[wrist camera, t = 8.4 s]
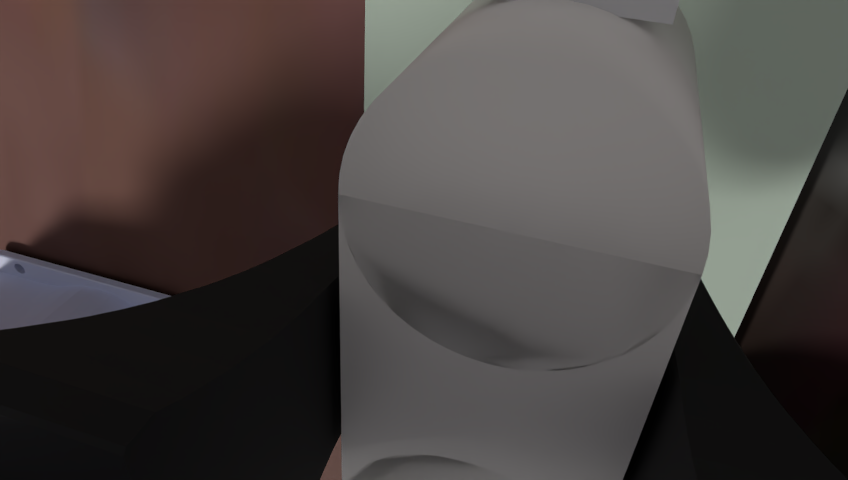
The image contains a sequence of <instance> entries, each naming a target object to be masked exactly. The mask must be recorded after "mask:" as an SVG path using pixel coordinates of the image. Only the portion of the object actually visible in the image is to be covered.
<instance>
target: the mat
mask: <svg viewBox="0 0 848 480" xmlns="http://www.w3.org/2000/svg"><path fill="white" fill-rule="evenodd" d="M473 1H474V0H365V75H364V113H365V111H366V110H367V109H368V107H369V106H370V105H371V104H372V102H373V101H374V100H375V99H376V98H377V97H378V96H379V95H380V94H381V93H382V92H383V91H384V90H385V89H386V88H387V87H388V86H389V85H390V84H391V83H392V82H393V81H394V80H395V79H396V78H397V77H398V76H399V75H400V74H401V73H402V72H403V71H404V70H405V69H406V68H407V67H408V66H409V65H410V64H411V63H412V62H413V61H414V60H415V59H416V58H417V57H418V56H419V55H420V54H421V53H422V52H423V51H424V50H425V49H426V48H427V47H428V46H429V45H430V44H431V43H432V42H433V41H434V40H435V39H436V38H437V37H438V36H439V35H440V34H441V33H442V32H443V31H444V30H445V29H446V28H447V27H448V26H449V25H450V24H451V23H452V22H453V21H454V20H455V19H456V18H457V17H458V16H459V15H460V14H461V13H462V12H463V11H464V10H465V9H466V8H467V7H468V6H469V5H470V4H471V3H472V2H473ZM678 6H679V8H680V9H681V11H682V13H683V15H684V17H685V19H686V21H687V24H688V27H689V30H690V32H691V35H692V40H693V45H694V50H695V60H696V70H697V80H698V91H699V101H700V111H701V121H702V131H703V141H704V151H705V162H706V172H707V182H708V192H709V202H710V217H711V237H710V245H709V253H708V257H707V260H706V264H705V267H704V271H703V274H702V277H701V280H702V281H703V283H704V285H705V287H706V289H707V291H708V293H709V295H710V297H711V298H712V300H713V302H714V304H715V306H716V307H717V309H718V311H719V313H720V314H721V316H722V318H723V320H724V321H725V323H726V325H727V326H728V328H729V330H730V331H731V333H732V335H733V336H734V337H735V335H736V333H737V330H738V328H739V326H740V324H741V322H742V320H743V317H744V315H745V313H746V311H747V309H748V306H749V304H750V302H751V300H752V298H753V295H754V293H755V291H756V289H757V287H758V284H759V282H760V280H761V278H762V276H763V273H764V271H765V269H766V267H767V265H768V262H769V260H770V258H771V256H772V254H773V251H774V249H775V247H776V245H777V243H778V240H779V238H780V236H781V234H782V232H783V229H784V227H785V225H786V223H787V221H788V218H789V216H790V214H791V212H792V210H793V207H794V205H795V203H796V201H797V199H798V196H799V194H800V192H801V190H802V188H803V185H804V183H805V181H806V179H807V177H808V174H809V172H810V170H811V168H812V166H813V163H814V161H815V159H816V157H817V155H818V153H819V150H820V148H821V146H822V144H823V142H824V139H825V137H826V135H827V133H828V131H829V128H830V126H831V124H832V122H833V120H834V117H835V115H836V113H837V111H838V109H839V106H840V104H841V102H842V100H843V98H844V95H845V93H846V91H847V89H848V0H679V4H678Z"/></svg>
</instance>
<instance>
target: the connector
mask: <svg viewBox="0 0 848 480" xmlns="http://www.w3.org/2000/svg"><path fill="white" fill-rule="evenodd" d="M678 4H679V0H474V1H473V2H472V3H471V4H470V5H469V6H468V7H467V8H466V9H465V10H464V11H463V12H462V13H461V14H460V15H459V16H458V17H457V18H456V19H455V20H454V21H453V22H452V23H451V24H450V25H449V26H448V27H447V28H446V29H445V30H444V31H443V32H442V33H441V34H440V35H439V36H438V37H437V38H436V39H435V40H434V41H433V42H432V43H431V44H430V45H429V46H428V47H427V48H426V49H425V50H424V51H423V52H422V53H421V54H420V55H419V56H418V57H417V58H416V59H415V60H414V61H413V62H412V63H411V64H410V65H409V66H408V67H407V68H406V69H405V70H404V71H403V72H402V73H401V74H400V75H399V76H398V77H397V78H396V79H395V80H394V81H393V82H392V83H391V84H390V85H389V86H388V87H387V88H386V89H385V90H384V91H383V92H382V93H381V94H380V95H379V96H378V97H377V98H376V99H375V100H374V101H373V102H372V104H371V105H370V106H369V107H368V109H367V110H366V111H365V113H364V114H363V115H362V116H361V118H360V119H359V121H358V123H357V125H356V127H355V128H354V130H353V132H352V134H351V136H350V138H349V141H348V144H347V146H346V149H345V152H344V154H343V159H342V164H341V168H340V173H339V188H338V221H339V295H340V368H341V442H342V480H623V478H624V475H625V473H626V470H627V468H628V465H629V462H630V460H631V457H632V455H633V452H634V450H635V447H636V444H637V442H638V439H639V437H640V434H641V432H642V429H643V426H644V424H645V421H646V419H647V416H648V413H649V411H650V408H651V406H652V403H653V401H654V398H655V395H656V393H657V390H658V388H659V385H660V383H661V380H662V377H663V375H664V372H665V370H666V367H667V364H668V362H669V359H670V357H671V354H672V352H673V349H674V346H675V344H676V341H677V339H678V336H679V334H680V331H681V328H682V326H683V323H684V321H685V318H686V316H687V313H688V310H689V308H690V305H691V303H692V300H693V297H694V295H695V292H696V290H697V287H698V285H699V282H700V279H701V277H702V274H703V271H704V267H705V264H706V260H707V257H708V253H709V245H710V237H711V217H710V202H709V192H708V182H707V172H706V162H705V151H704V141H703V131H702V121H701V111H700V101H699V91H698V80H697V70H696V60H695V50H694V45H693V40H692V35H691V32H690V30H689V27H688V24H687V21H686V19H685V17H684V15H683V13H682V11H681V9H680V8H679V6H678Z"/></svg>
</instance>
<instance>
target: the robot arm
mask: <svg viewBox="0 0 848 480" xmlns="http://www.w3.org/2000/svg"><path fill="white" fill-rule="evenodd" d="M340 435H341V368H340V295H339V224H338V225H337V226H335V227H333V228H331V229H329V230H328V231H326V232H324V233H322V234H321V235H319V236H317V237H315V238H313V239H311V240H309V241H307V242H305V243H303V244H301V245H299V246H297V247H295V248H293V249H291V250H289V251H287V252H285V253H283V254H281V255H279V256H277V257H275V258H273V259H271V260H269V261H267V262H265V263H263V264H260V265H258V266H256V267H253V268H251V269H249V270H246V271H244V272H241V273H239V274H236V275H233V276H231V277H228V278H226V279H223V280H220V281H218V282H215V283H212V284H209V285H206V286H203V287H200V288H196V289H193V290H190V291H187V292H183V293H180V294H177V295H173V296H170V295H166V294H163V293H159V292H155V291H152V290H148V289H144V288H141V287H137V286H133V285H130V284H126V283H122V282H119V281H115V280H112V279H108V278H104V277H101V276H97V275H93V274H90V273H86V272H82V271H79V270H75V269H72V268H68V267H64V266H61V265H57V264H53V263H50V262H46V261H42V260H39V259H35V258H31V257H28V256H24V255H21V254H17V253H13V252H10V251H6V250H0V480H320V478H321V475H322V473H323V471H324V469H325V466H326V464H327V462H328V460H329V457H330V455H331V453H332V450H333V448H334V446H335V444H336V442H337V440H338V439H339V437H340ZM623 480H848V479H847V478H846V477H845V476H844V475H843V474H842V473H841V472H840V471H839V470H838V469H837V468H836V467H835V466H834V465H833V464H832V463H831V462H830V461H829V459H828V458H827V457H826V456H825V455H824V454H823V453H822V452H821V451H820V450H819V449H818V448H817V446H816V445H815V444H814V443H813V442H812V441H811V440H810V438H809V437H808V436H807V435H806V434H805V433H804V431H803V430H802V429H801V428H800V427H799V426H798V424H797V423H796V422H795V421H794V420H793V419H792V417H791V416H790V415H789V414H788V413H787V411H786V410H785V409H784V408H783V407H782V405H781V404H780V403H779V401H778V400H777V399H776V398H775V396H774V395H773V394H772V392H771V391H770V390H769V388H768V387H767V386H766V384H765V383H764V381H763V380H762V379H761V377H760V376H759V374H758V373H757V372H756V370H755V369H754V367H753V366H752V364H751V363H750V361H749V360H748V358H747V357H746V355H745V354H744V352H743V351H742V349H741V347H740V346H739V344H738V343H737V341H736V339H735V338H734V336H733V335H732V333H731V331H730V330H729V328H728V326H727V325H726V323H725V321H724V320H723V318H722V316H721V314H720V313H719V311H718V309H717V307H716V306H715V304H714V302H713V300H712V298H711V297H710V295H709V293H708V291H707V289H706V287H705V285H704V283H703V281H702V280H701V279H700V282H699V285H698V287H697V290H696V292H695V295H694V297H693V300H692V303H691V305H690V308H689V310H688V313H687V316H686V318H685V321H684V323H683V326H682V328H681V331H680V334H679V336H678V339H677V341H676V344H675V346H674V349H673V352H672V354H671V357H670V359H669V362H668V364H667V367H666V370H665V372H664V375H663V377H662V380H661V383H660V385H659V388H658V390H657V393H656V395H655V398H654V401H653V403H652V406H651V408H650V411H649V413H648V416H647V419H646V421H645V424H644V426H643V429H642V432H641V434H640V437H639V439H638V442H637V444H636V447H635V450H634V452H633V455H632V457H631V460H630V462H629V465H628V468H627V470H626V473H625V475H624V478H623Z"/></svg>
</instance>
